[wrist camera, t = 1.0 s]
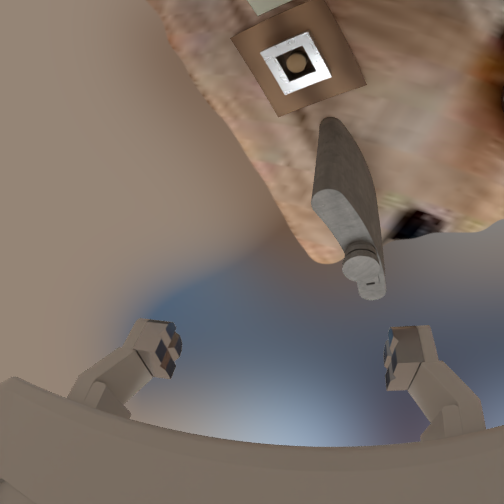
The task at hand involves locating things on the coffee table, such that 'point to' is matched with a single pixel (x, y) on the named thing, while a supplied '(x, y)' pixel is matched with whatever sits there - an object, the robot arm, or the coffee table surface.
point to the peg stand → (300, 55)
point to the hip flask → (349, 207)
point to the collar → (305, 77)
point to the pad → (265, 5)
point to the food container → (503, 99)
